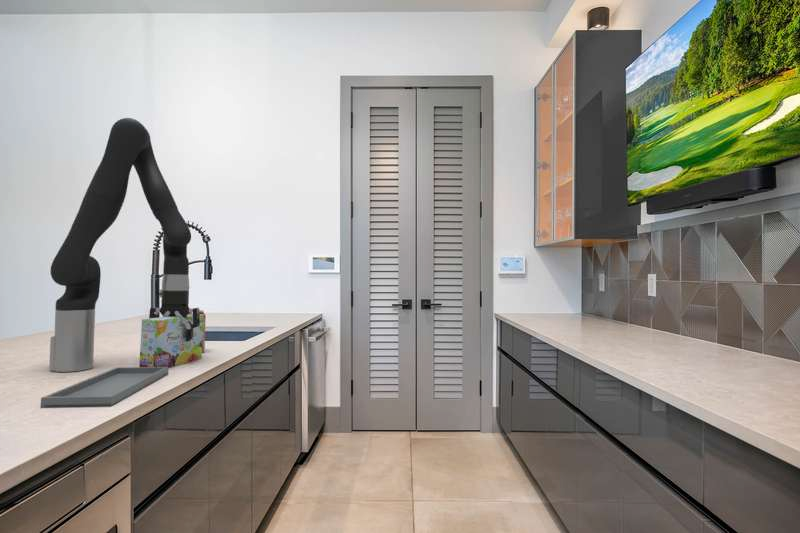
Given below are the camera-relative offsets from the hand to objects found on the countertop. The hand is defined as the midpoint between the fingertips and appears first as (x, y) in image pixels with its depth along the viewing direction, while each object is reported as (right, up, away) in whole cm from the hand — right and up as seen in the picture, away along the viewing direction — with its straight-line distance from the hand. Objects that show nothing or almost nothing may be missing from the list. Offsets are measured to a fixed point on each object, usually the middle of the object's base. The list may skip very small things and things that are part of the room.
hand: (173, 341), depth 133 cm
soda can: (-4, -8, +20) cm, 21 cm away
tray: (+1, -7, -29) cm, 30 cm away
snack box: (0, -7, 0) cm, 7 cm away
